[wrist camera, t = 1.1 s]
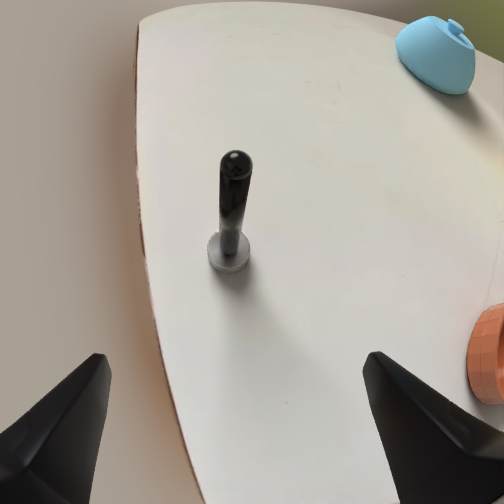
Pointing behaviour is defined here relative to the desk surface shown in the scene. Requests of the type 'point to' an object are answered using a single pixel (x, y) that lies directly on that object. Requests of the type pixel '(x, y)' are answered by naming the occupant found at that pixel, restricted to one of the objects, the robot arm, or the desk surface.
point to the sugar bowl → (438, 54)
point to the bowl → (487, 356)
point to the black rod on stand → (231, 214)
